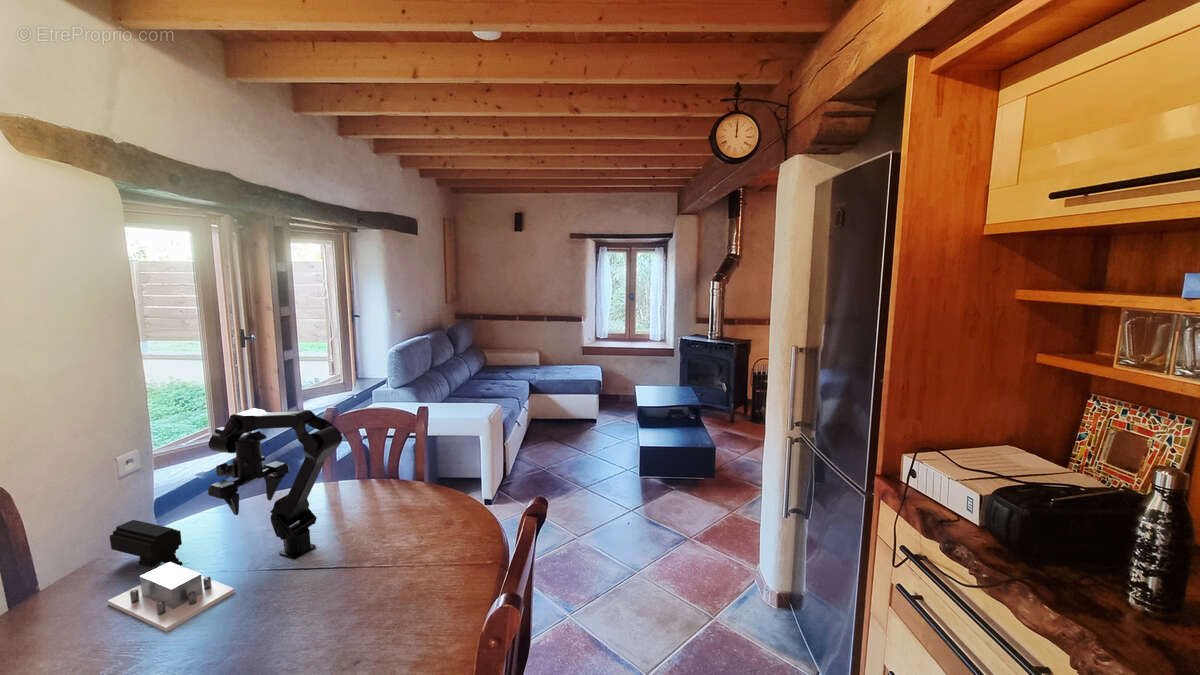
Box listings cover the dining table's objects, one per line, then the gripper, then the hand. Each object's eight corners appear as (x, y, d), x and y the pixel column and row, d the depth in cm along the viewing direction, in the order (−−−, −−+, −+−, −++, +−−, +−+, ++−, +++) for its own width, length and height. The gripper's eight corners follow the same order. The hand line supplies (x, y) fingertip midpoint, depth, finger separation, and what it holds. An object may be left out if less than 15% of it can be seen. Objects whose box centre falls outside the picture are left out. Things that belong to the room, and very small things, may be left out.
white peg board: (234, 592, 118) (233, 579, 117) (166, 631, 105) (164, 617, 104) (178, 570, 126) (176, 557, 125) (108, 604, 113) (106, 590, 112)
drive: (202, 593, 116) (201, 573, 115) (173, 609, 110) (171, 589, 110) (171, 580, 120) (169, 561, 119) (142, 595, 114) (139, 576, 114)
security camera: (163, 578, 122) (158, 541, 121) (111, 564, 127) (106, 529, 126) (192, 562, 129) (188, 527, 127) (142, 550, 134) (137, 516, 132)
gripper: (262, 439, 146) (266, 488, 148) (192, 462, 129) (197, 516, 131) (288, 445, 142) (292, 495, 144) (219, 469, 125) (225, 525, 127)
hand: (253, 507), depth 137 cm, fingers open, 9 cm apart
